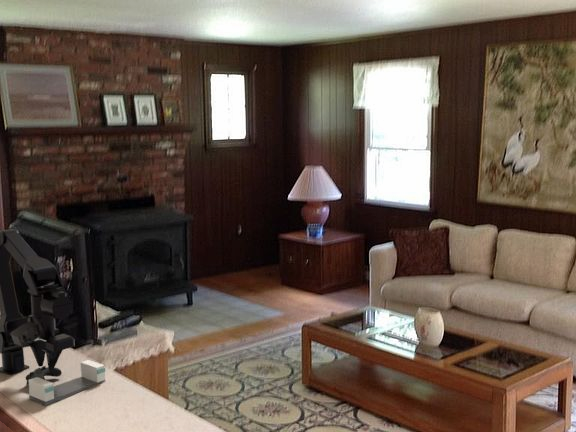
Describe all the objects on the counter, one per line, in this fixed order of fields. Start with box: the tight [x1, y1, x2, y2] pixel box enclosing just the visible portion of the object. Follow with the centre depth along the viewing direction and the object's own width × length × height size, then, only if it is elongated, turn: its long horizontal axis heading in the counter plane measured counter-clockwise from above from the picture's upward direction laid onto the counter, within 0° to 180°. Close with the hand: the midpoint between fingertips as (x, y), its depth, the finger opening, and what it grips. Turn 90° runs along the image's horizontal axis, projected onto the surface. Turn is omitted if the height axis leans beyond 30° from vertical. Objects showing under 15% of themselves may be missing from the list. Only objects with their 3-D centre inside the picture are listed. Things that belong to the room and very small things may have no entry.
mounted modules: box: [28, 359, 106, 402], centre depth 180 cm, size 7×18×4 cm, turn 142°
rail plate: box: [28, 376, 106, 406], centre depth 181 cm, size 7×18×1 cm, turn 142°
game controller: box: [25, 365, 63, 386], centre depth 186 cm, size 10×5×6 cm
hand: (45, 368), depth 186 cm, fingers open, 4 cm apart
